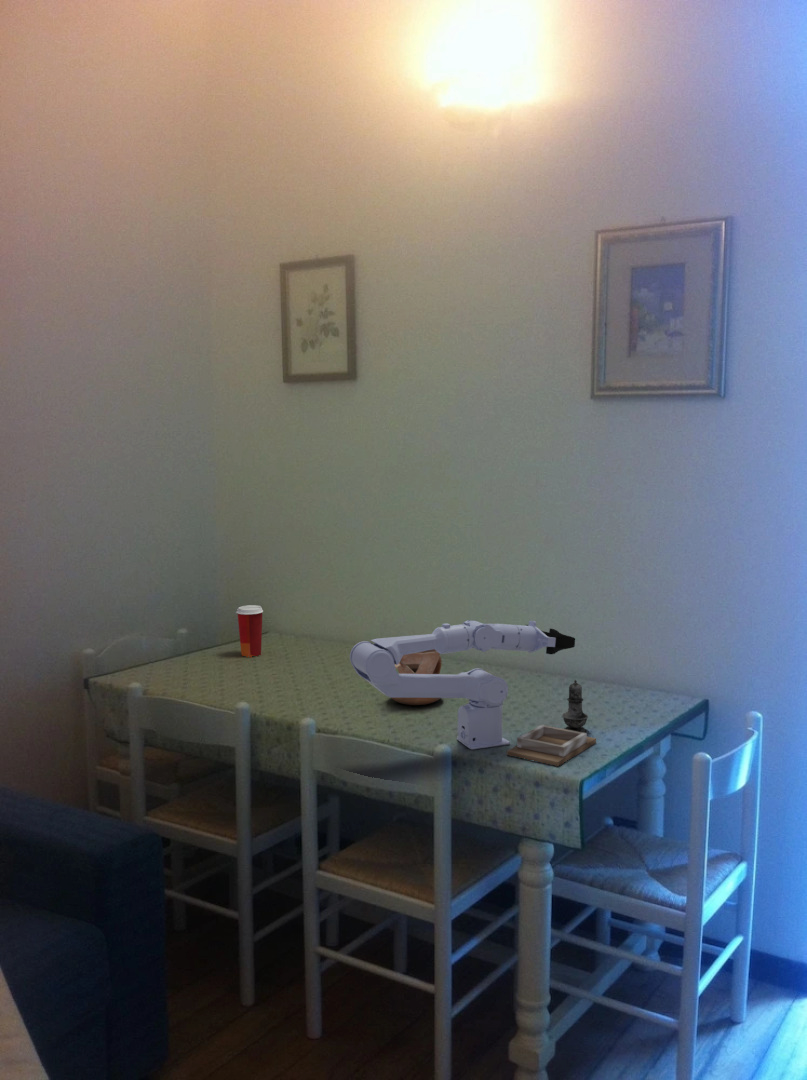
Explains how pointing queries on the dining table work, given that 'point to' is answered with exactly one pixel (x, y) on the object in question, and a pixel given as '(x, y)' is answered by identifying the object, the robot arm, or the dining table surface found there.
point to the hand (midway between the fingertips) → (564, 640)
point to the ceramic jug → (419, 671)
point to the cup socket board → (551, 745)
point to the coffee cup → (250, 629)
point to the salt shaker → (575, 710)
